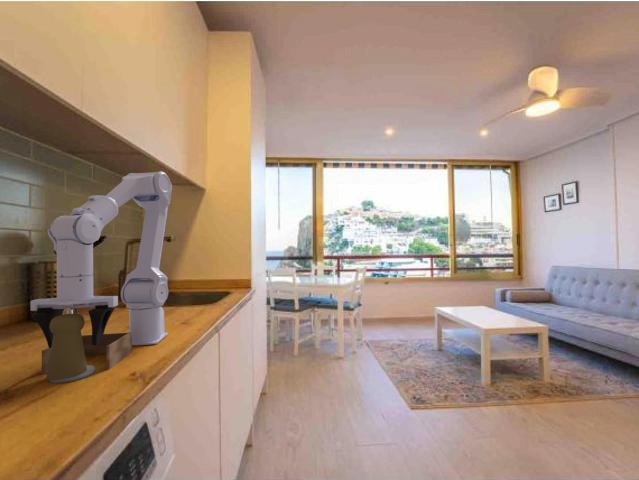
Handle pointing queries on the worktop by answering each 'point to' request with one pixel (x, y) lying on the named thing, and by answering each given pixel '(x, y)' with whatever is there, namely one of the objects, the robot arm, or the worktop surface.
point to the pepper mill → (66, 347)
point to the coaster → (89, 372)
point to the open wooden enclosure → (100, 348)
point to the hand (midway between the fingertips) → (75, 345)
